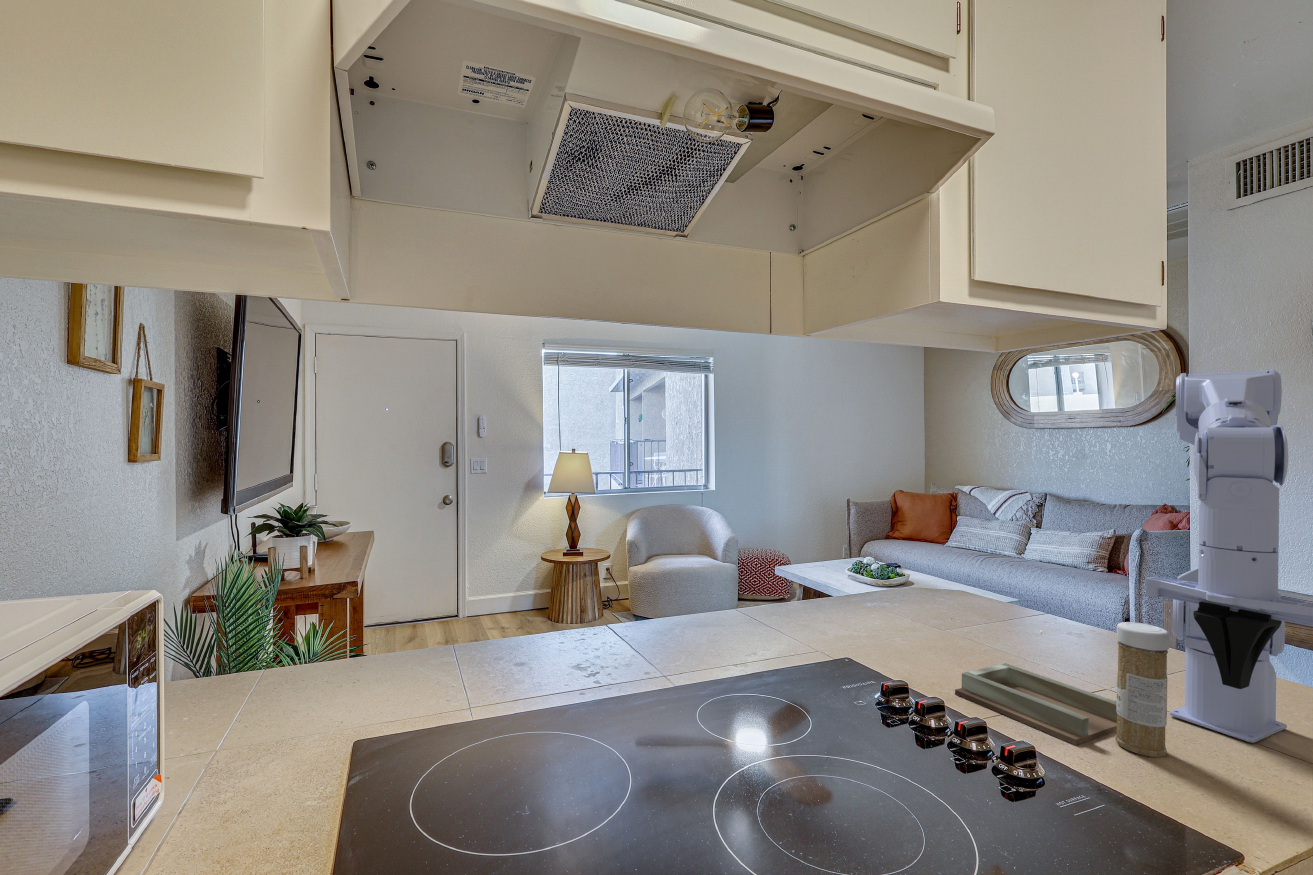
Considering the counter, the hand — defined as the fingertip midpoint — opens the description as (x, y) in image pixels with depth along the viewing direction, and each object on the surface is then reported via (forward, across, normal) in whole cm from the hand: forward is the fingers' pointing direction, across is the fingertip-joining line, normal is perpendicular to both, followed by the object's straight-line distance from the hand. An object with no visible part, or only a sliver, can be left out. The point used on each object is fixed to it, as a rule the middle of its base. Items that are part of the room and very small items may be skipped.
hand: (1235, 685), depth 60 cm
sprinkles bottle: (+10, -8, 0) cm, 13 cm away
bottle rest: (+10, -19, 0) cm, 21 cm away
